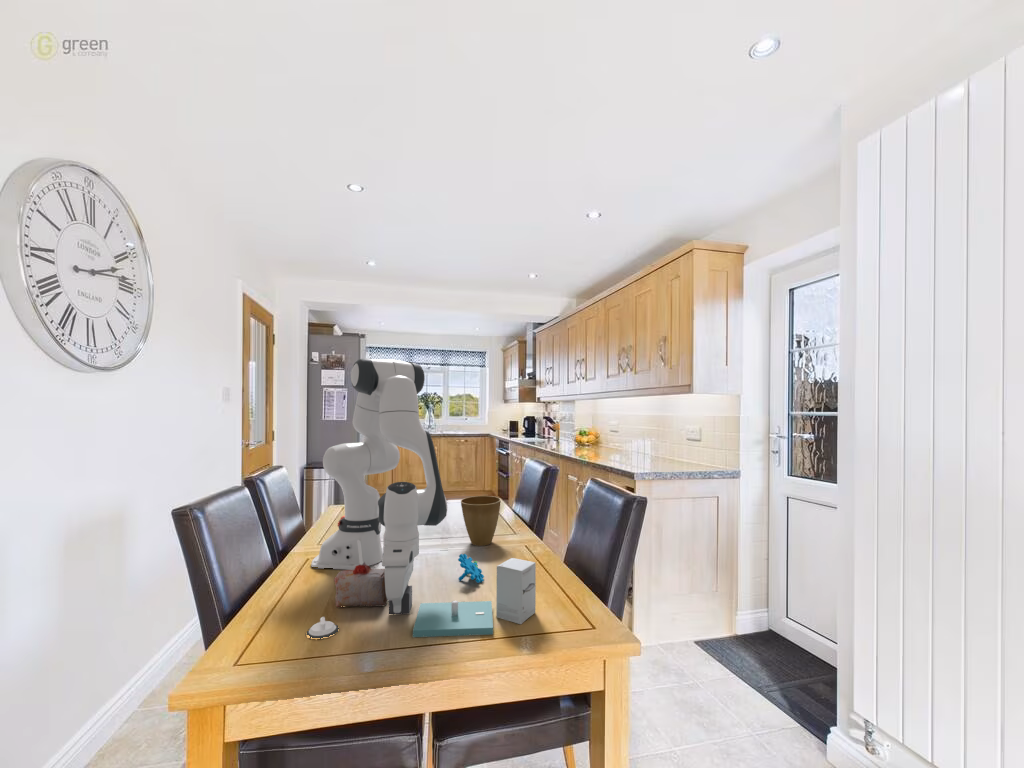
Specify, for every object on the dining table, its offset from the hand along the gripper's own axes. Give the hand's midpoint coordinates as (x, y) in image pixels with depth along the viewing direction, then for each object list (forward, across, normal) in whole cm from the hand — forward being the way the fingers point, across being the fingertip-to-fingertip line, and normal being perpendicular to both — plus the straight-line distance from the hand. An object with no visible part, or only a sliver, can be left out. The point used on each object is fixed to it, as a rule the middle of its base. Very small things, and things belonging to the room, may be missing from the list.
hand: (400, 603), depth 118 cm
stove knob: (+2, +10, -16) cm, 19 cm away
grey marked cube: (+2, 0, 0) cm, 2 cm away
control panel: (+2, +7, +14) cm, 16 cm away
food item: (+2, -5, -11) cm, 12 cm away
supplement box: (+2, +5, +29) cm, 29 cm away
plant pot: (+2, -54, +20) cm, 57 cm away
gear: (+2, -18, +18) cm, 25 cm away
